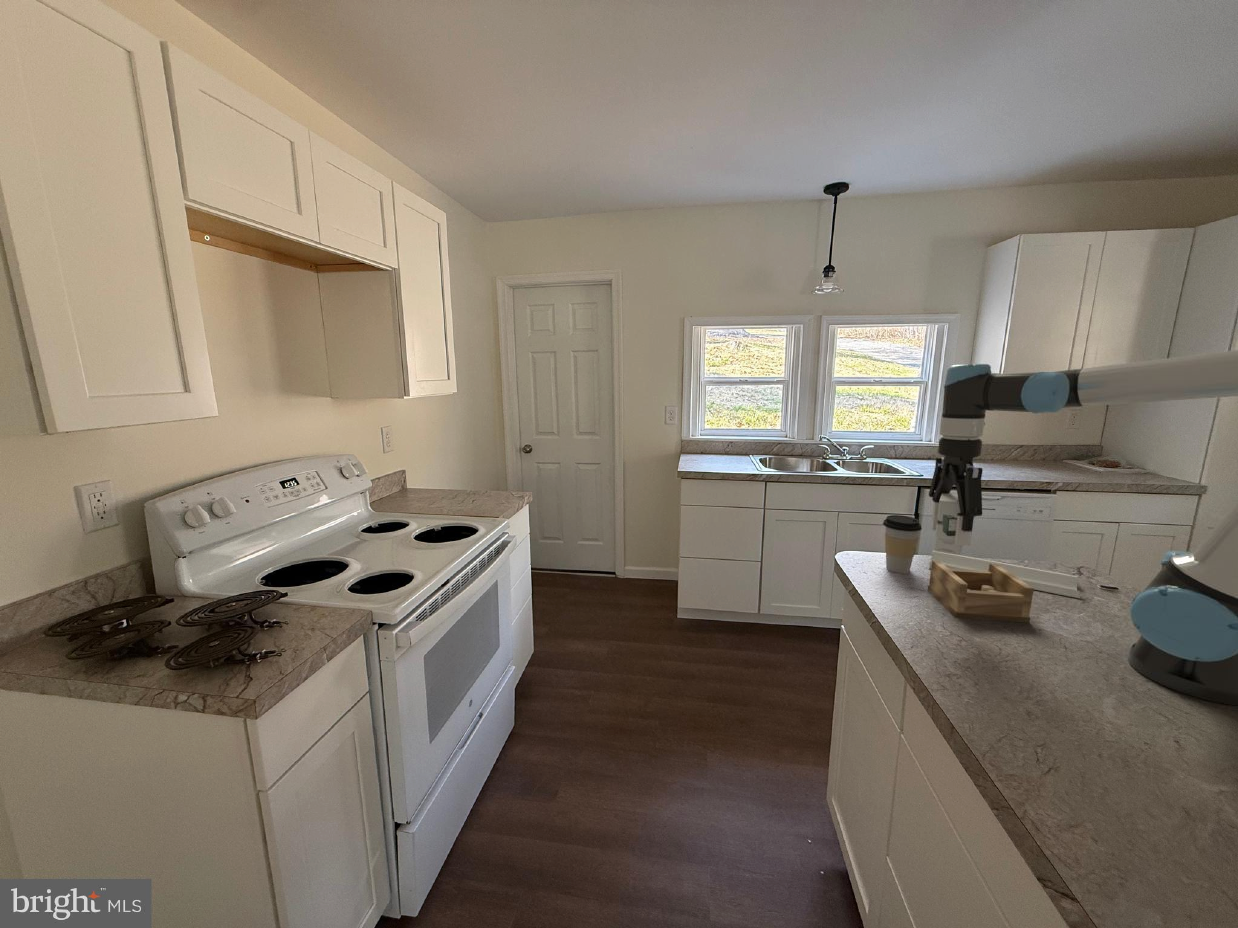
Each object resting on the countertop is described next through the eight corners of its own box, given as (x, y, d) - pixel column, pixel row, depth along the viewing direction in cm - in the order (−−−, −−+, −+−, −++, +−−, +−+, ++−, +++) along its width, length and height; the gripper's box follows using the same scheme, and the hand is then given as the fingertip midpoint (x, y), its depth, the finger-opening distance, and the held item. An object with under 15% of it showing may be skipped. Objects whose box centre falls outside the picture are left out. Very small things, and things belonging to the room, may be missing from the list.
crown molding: (928, 571, 134) (929, 559, 134) (932, 558, 143) (933, 547, 143) (1079, 601, 115) (1081, 587, 115) (1072, 584, 125) (1074, 571, 124)
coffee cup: (922, 577, 129) (928, 525, 126) (885, 574, 130) (890, 523, 128) (909, 563, 138) (914, 514, 135) (874, 561, 140) (878, 513, 137)
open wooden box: (1029, 622, 105) (1035, 588, 103) (954, 617, 108) (959, 583, 106) (992, 594, 118) (997, 563, 117) (927, 589, 121) (931, 560, 120)
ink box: (936, 540, 110) (941, 491, 108) (962, 544, 107) (967, 494, 105) (933, 551, 103) (938, 499, 101) (961, 556, 100) (967, 502, 98)
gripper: (1014, 444, 89) (999, 555, 93) (952, 431, 111) (942, 522, 115) (970, 444, 90) (958, 554, 94) (917, 431, 112) (909, 521, 116)
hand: (949, 536), depth 105 cm, fingers closed on ink box, 9 cm apart
